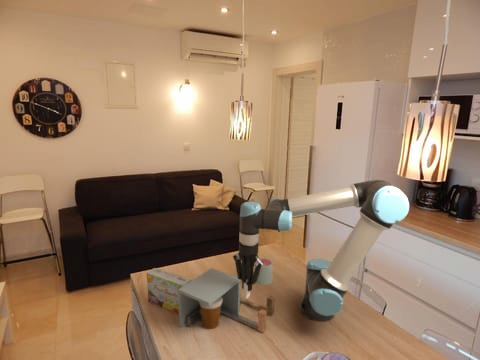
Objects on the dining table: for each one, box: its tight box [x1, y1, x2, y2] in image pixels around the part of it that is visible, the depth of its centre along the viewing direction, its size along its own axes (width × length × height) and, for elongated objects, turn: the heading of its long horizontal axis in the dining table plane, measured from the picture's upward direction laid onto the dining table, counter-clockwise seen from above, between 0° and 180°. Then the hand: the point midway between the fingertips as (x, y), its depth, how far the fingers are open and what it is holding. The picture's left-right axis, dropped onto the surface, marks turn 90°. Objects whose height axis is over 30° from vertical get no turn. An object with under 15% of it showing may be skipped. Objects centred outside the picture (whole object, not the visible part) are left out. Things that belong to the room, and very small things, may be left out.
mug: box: [254, 257, 274, 286], centre depth 162 cm, size 14×9×10 cm
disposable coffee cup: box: [199, 297, 223, 330], centre depth 125 cm, size 10×10×12 cm
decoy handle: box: [240, 294, 276, 318], centre depth 138 cm, size 20×2×8 cm, turn 57°
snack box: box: [146, 267, 193, 315], centre depth 136 cm, size 21×6×15 cm, turn 62°
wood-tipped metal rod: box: [186, 307, 268, 333], centre depth 123 cm, size 27×16×8 cm, turn 57°
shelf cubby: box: [178, 267, 241, 329], centre depth 127 cm, size 15×21×17 cm
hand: (246, 296), depth 125 cm, fingers closed
